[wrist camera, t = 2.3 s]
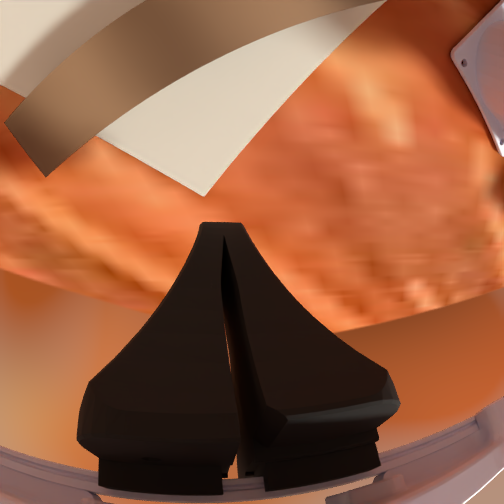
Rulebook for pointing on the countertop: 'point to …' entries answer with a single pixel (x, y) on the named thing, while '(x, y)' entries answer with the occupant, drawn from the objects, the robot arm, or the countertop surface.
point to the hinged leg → (143, 65)
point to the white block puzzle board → (176, 82)
